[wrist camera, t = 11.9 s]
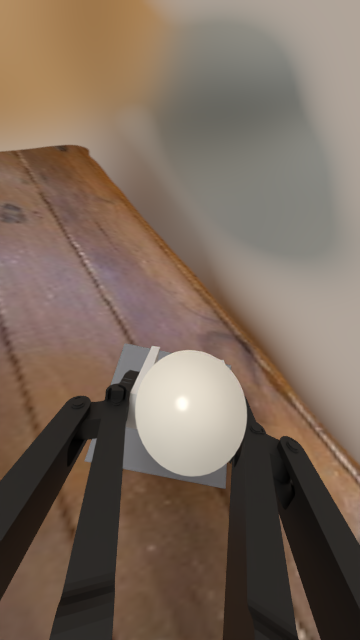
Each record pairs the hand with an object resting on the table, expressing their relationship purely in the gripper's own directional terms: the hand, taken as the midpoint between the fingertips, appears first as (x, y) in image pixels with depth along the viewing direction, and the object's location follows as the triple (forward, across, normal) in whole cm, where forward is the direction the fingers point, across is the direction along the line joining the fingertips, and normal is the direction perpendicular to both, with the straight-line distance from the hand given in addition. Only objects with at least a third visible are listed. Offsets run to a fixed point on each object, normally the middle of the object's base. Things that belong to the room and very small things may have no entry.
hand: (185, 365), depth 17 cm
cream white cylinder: (0, 0, -5) cm, 5 cm away
